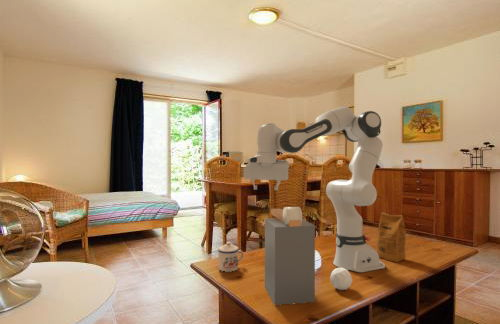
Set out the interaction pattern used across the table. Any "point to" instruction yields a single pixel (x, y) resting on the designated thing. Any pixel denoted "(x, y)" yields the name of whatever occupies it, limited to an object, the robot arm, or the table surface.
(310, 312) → the table surface
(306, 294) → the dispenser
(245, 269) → the table surface
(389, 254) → the coffee package
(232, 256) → the teacup with lid
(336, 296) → the table surface
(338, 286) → the geometric ball
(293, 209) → the wooden handled brush
